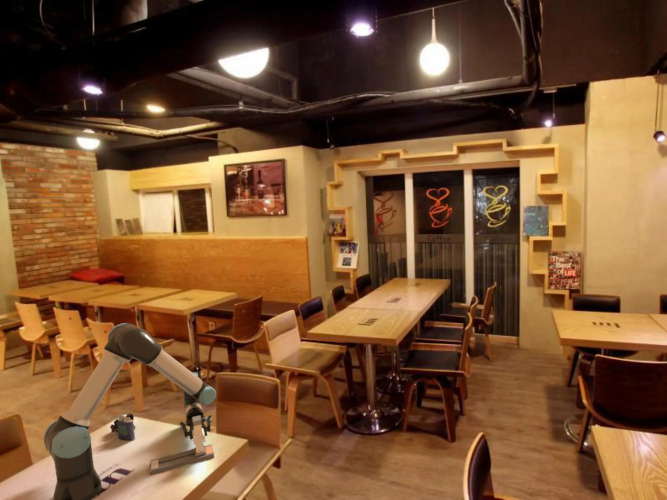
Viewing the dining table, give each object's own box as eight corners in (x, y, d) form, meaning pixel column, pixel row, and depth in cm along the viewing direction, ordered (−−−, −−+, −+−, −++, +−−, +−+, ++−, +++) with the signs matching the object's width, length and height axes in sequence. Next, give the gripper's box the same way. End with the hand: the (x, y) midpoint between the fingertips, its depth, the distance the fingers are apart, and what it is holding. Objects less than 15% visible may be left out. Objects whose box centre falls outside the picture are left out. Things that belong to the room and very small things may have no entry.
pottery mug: (130, 436, 193) (119, 424, 191) (115, 444, 195) (104, 432, 193) (143, 418, 205) (132, 406, 202) (128, 425, 207) (117, 413, 204)
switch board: (150, 474, 163) (150, 470, 163) (151, 463, 170) (150, 459, 170) (214, 457, 172) (213, 453, 172) (211, 447, 179) (211, 444, 179)
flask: (136, 438, 191) (133, 416, 190) (131, 441, 188) (128, 419, 187) (121, 435, 194) (119, 413, 193) (116, 438, 192) (113, 416, 191)
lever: (195, 456, 170) (192, 422, 169) (194, 449, 175) (191, 416, 174) (205, 453, 172) (202, 420, 170) (204, 446, 177) (201, 414, 175)
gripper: (213, 418, 193) (220, 443, 171) (176, 427, 187) (179, 454, 165) (212, 402, 192) (219, 426, 171) (174, 411, 186) (177, 436, 164)
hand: (199, 440), depth 168 cm, fingers closed on lever, 3 cm apart
